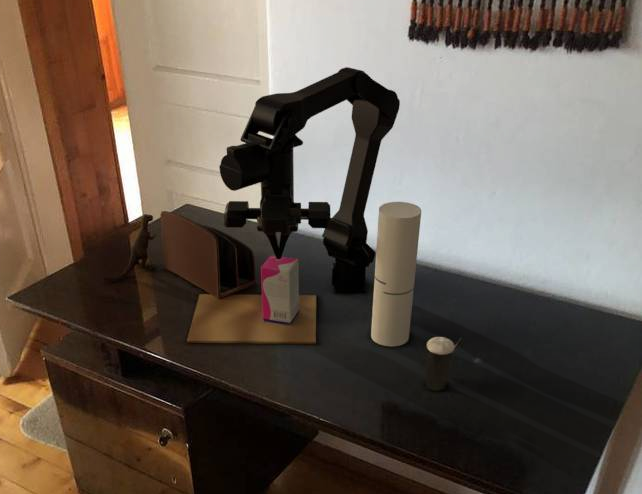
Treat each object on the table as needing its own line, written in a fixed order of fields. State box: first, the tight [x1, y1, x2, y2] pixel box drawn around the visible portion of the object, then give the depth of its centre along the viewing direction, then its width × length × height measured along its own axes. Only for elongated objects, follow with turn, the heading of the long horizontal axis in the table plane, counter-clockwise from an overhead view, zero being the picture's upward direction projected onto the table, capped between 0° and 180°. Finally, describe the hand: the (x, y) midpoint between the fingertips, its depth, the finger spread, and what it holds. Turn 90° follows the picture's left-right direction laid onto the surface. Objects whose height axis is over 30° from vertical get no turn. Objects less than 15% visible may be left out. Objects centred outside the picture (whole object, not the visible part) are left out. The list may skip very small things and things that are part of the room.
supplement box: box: [260, 255, 300, 325], centre depth 140 cm, size 6×6×12 cm
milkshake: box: [425, 336, 462, 392], centre depth 123 cm, size 4×5×10 cm
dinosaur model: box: [101, 213, 157, 282], centre depth 156 cm, size 4×12×15 cm
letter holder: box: [160, 210, 257, 299], centre depth 153 cm, size 10×20×14 cm, turn 43°
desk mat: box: [186, 293, 317, 345], centre depth 144 cm, size 24×18×1 cm
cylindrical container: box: [370, 201, 422, 348], centre depth 131 cm, size 7×7×25 cm
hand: (278, 258), depth 136 cm, fingers closed
